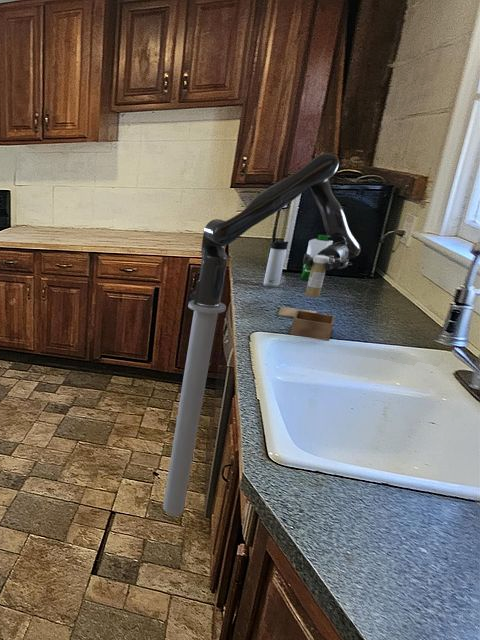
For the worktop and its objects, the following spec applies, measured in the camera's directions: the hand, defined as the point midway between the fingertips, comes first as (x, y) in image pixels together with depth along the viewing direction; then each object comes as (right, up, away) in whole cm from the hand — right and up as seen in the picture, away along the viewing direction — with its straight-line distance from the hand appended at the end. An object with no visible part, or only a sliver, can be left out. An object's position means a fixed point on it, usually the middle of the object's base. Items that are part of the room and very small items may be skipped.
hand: (317, 265), depth 173 cm
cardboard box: (-1, -22, +3) cm, 22 cm away
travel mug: (+16, +1, +60) cm, 63 cm away
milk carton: (+41, +6, +73) cm, 84 cm away
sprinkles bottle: (+2, -10, +6) cm, 12 cm away
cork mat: (+6, -14, +22) cm, 27 cm away
